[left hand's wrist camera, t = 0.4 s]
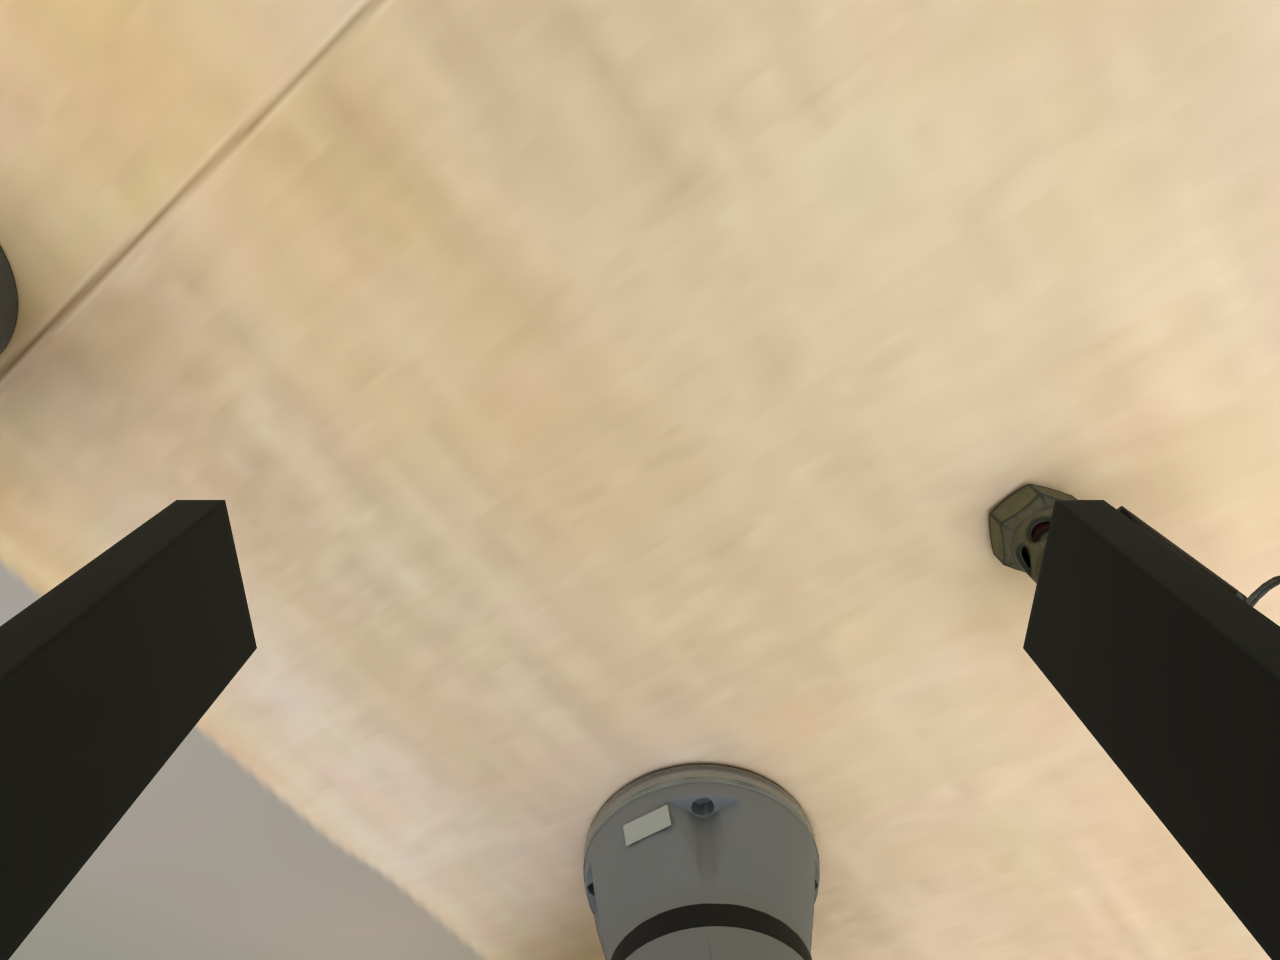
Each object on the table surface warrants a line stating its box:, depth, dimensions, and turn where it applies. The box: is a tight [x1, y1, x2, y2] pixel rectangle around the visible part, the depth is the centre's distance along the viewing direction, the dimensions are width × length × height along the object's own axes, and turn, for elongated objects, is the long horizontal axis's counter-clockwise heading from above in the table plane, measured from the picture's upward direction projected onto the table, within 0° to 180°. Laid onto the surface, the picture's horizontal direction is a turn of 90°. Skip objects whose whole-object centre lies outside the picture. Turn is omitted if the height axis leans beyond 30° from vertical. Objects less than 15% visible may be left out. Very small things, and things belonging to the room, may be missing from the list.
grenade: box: [989, 484, 1280, 607], centre depth 36 cm, size 9×6×15 cm, turn 134°
